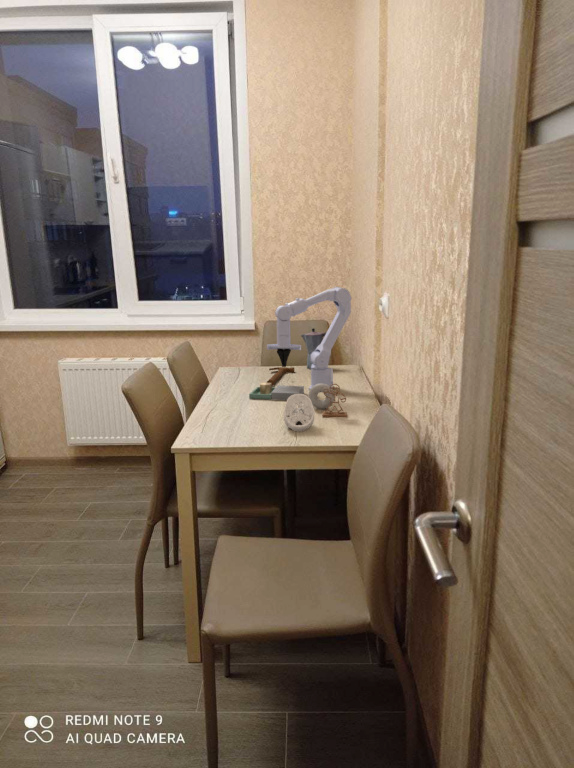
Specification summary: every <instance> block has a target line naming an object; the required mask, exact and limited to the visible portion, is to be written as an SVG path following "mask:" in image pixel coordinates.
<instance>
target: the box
mask: <svg viewBox="0 0 574 768" xmlns="http://www.w3.org/2000/svg"><path fill="white" fill-rule="evenodd" d="M276 387H277V386H276ZM276 387H274V386H272V391H273V390H274V389H275V388H276ZM248 395H249V396H248V399H249V400H266V401H267V400H270V401H271V400H272V397H271V393H270V394H260V386H256V387H255V388H254V389H253V390H252V391H251V392H250V393H249V394H248Z"/></svg>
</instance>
